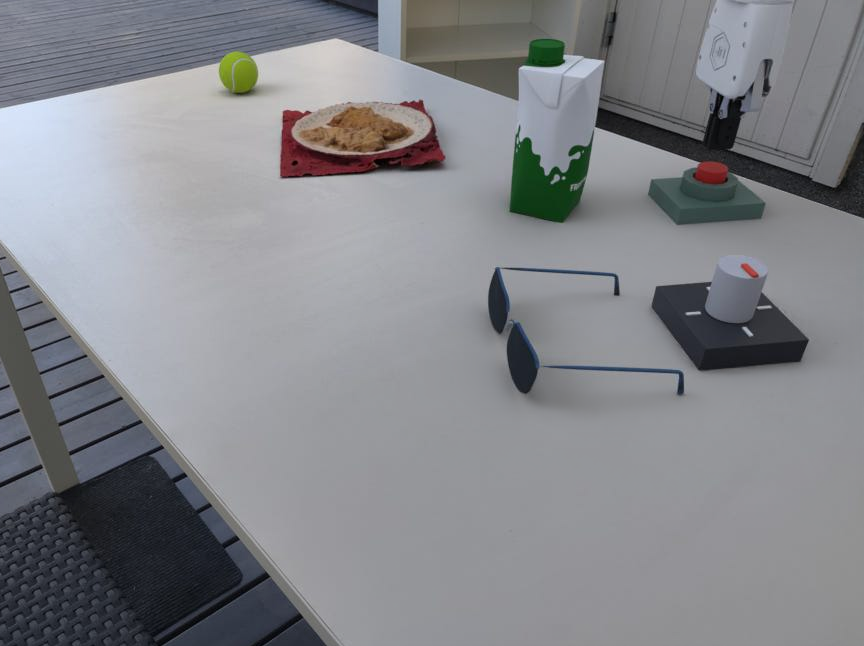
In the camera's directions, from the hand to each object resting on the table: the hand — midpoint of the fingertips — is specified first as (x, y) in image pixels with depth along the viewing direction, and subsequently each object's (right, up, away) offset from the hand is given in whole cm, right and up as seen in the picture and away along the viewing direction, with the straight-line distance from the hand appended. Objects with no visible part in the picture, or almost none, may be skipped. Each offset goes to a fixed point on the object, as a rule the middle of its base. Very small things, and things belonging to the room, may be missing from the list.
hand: (717, 146), depth 91 cm
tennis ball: (-67, +23, +46) cm, 84 cm away
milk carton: (-20, -6, +6) cm, 22 cm away
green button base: (0, -6, +5) cm, 8 cm away
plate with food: (-45, +8, +25) cm, 52 cm away
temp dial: (-7, -21, -19) cm, 30 cm away
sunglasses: (-22, -25, -19) cm, 38 cm away
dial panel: (-7, -23, -18) cm, 30 cm away
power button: (0, -3, +3) cm, 4 cm away
